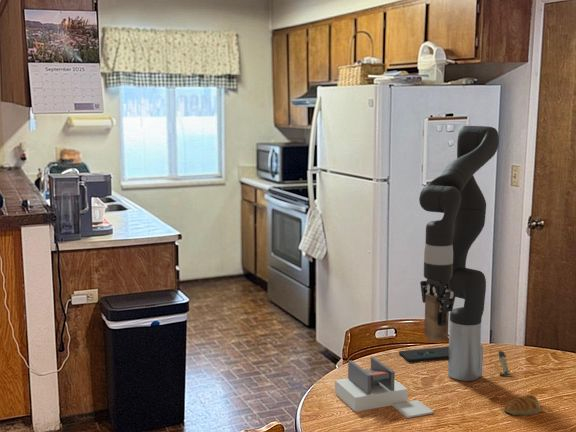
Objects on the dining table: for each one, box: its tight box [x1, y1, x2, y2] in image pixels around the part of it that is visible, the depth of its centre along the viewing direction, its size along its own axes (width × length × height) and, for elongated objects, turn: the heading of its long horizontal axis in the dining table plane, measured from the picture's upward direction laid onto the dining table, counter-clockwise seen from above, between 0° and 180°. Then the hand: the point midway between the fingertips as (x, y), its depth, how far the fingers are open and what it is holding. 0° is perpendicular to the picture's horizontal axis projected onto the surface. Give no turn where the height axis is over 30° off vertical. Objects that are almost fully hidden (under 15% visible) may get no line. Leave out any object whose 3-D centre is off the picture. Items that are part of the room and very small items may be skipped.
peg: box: [423, 293, 450, 343], centre depth 185 cm, size 4×4×12 cm
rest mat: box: [391, 399, 435, 419], centre depth 186 cm, size 8×8×1 cm
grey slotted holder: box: [334, 356, 409, 412], centre depth 193 cm, size 16×13×9 cm
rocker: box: [364, 369, 389, 380], centre depth 193 cm, size 5×12×1 cm, turn 21°
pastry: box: [504, 394, 542, 416], centre depth 185 cm, size 9×7×4 cm
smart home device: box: [398, 346, 449, 363], centre depth 227 cm, size 8×2×20 cm
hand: (436, 322), depth 186 cm, fingers closed on peg, 4 cm apart
